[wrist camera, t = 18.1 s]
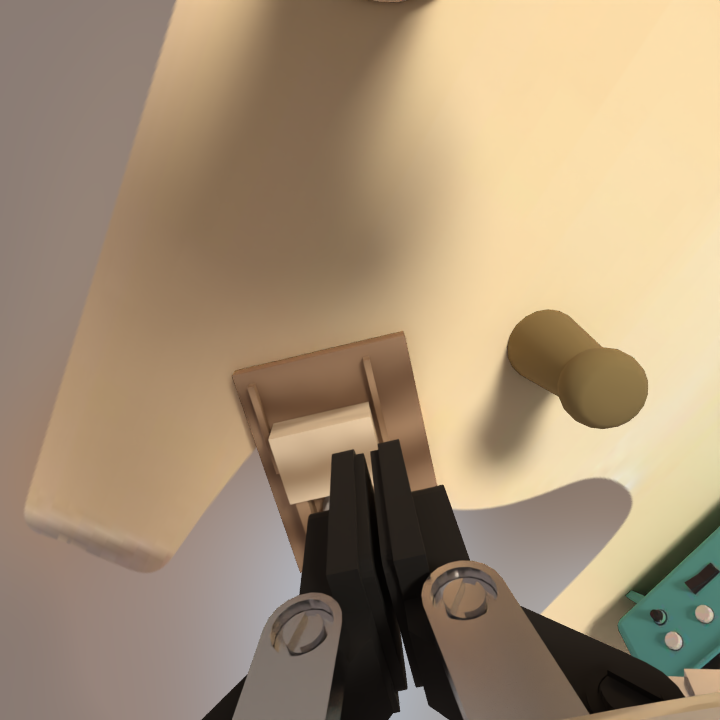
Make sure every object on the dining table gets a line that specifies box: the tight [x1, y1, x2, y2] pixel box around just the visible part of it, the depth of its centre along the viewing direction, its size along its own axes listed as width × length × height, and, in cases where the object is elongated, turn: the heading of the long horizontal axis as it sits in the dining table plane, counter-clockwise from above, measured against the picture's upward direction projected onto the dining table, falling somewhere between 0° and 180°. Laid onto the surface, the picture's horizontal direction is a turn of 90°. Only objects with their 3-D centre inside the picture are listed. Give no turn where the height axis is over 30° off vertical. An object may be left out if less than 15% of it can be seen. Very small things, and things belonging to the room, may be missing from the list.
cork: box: [507, 310, 648, 429], centre depth 34 cm, size 6×6×11 cm
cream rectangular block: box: [268, 402, 379, 505], centre depth 39 cm, size 6×8×3 cm
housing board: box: [232, 331, 437, 573], centre depth 40 cm, size 20×14×3 cm
